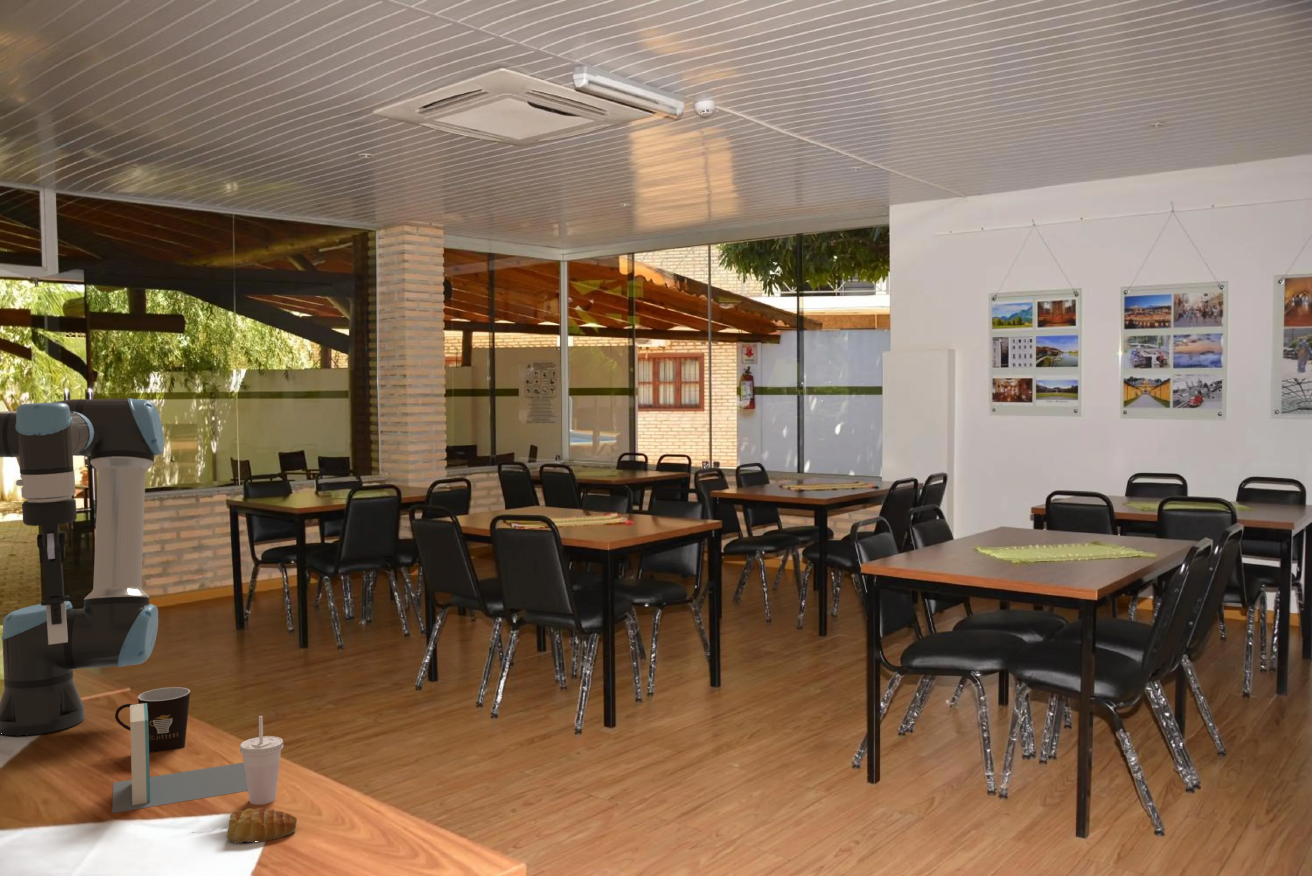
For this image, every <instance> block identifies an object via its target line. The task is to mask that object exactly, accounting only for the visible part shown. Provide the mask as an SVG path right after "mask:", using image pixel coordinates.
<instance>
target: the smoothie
mask: <svg viewBox="0 0 1312 876" xmlns="http://www.w3.org/2000/svg"><path fill="white" fill-rule="evenodd" d="M263 718H264V716H263V715H259V716H258V737H257V736H256V737H253V738H249V739H246V740H244V741H243V742H241V743H240V744H239V752H240V754H241V755H242V759H243V760H242V763H244V768H245V774H246V781H247V787H248V791H247V792H248V800H249V803H250V804H251V805H256V806H257V805H266V804H271V803H273V802H275V800H276V798H277V791H278V781H279V773H280V771H279V770H280V762H281V754H282V753H281V751H282V749H283V748H284V741H283V738H281V737H278V736H273V735H272V736H271V735H265V736H264V722H263V721H264V720H263Z"/></svg>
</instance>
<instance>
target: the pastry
mask: <svg viewBox="0 0 1312 876" xmlns="http://www.w3.org/2000/svg"><path fill="white" fill-rule="evenodd" d="M297 820H298V819H297V817H296V816H294V815H293V814H291V813H287V812H284V811H280V810H275V809H264V808H263V807H258V808H250V807H248V808H246V809H245V810H239V809H238V810H237V809H235V810H232V812H231V814H230V817H229V821H228V826H227V832H226V835H225V836H226V837H225V838H226V840H227V841H228V842H229V841H230V842H232V843H234V842H236V843H235V844H243V842H247V843H249V842H255V841H259V842H267V841H266V840H268V841H271V840H272V839H273V840H277V839H276V838H278V839H281V838H282V839H283V838H284V837H286V836H289V835H292V834H293V833H294V832H295V831H296V829H297V822H298V821H297ZM255 843H256V842H255Z"/></svg>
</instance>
